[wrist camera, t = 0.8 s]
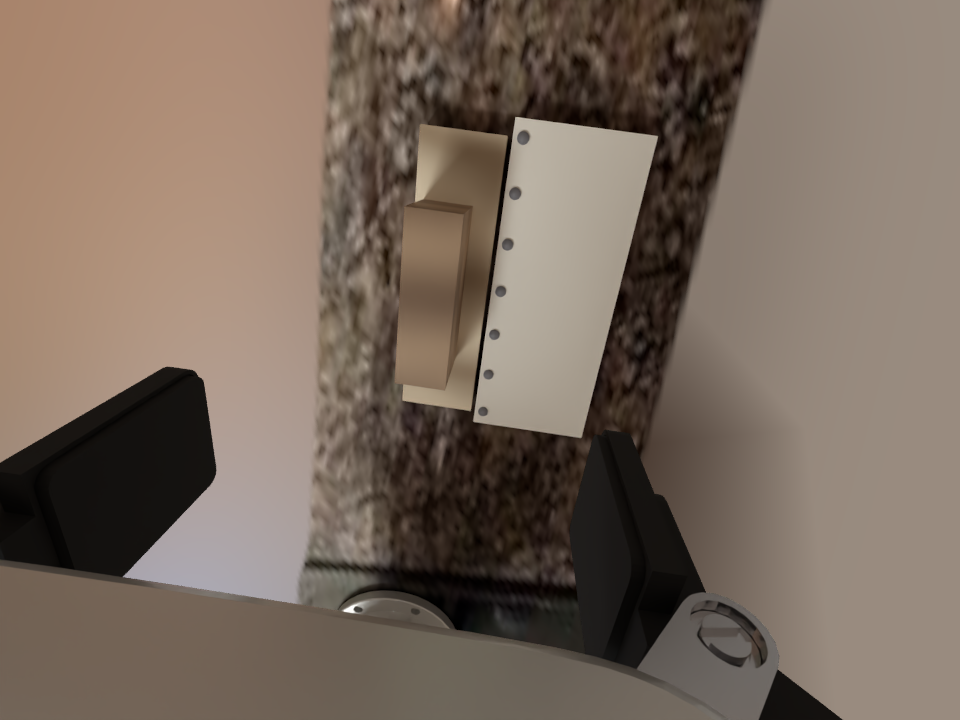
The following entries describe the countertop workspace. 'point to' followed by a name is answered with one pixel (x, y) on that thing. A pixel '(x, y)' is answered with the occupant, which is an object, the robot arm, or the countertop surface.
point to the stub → (447, 264)
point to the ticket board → (558, 271)
